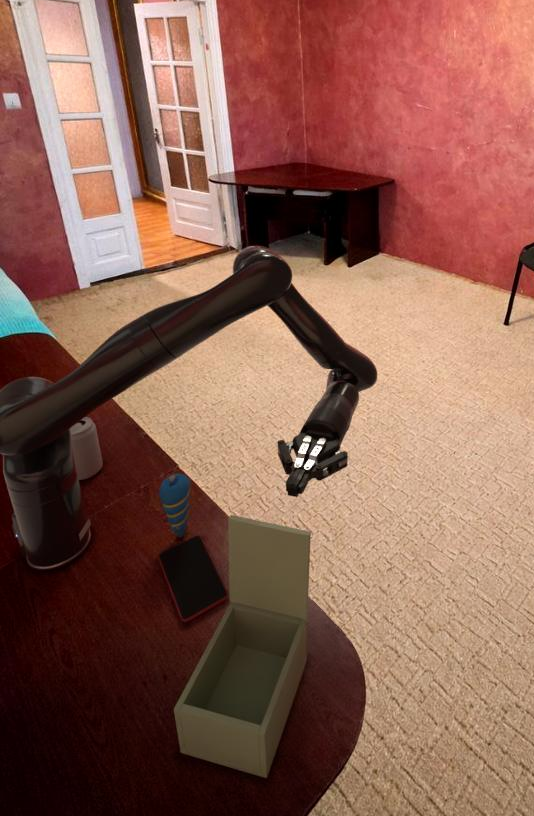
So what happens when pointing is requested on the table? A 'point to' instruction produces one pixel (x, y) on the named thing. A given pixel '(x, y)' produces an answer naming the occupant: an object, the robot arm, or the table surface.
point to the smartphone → (192, 578)
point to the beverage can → (86, 448)
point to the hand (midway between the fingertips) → (292, 492)
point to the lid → (269, 566)
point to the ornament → (176, 501)
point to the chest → (243, 689)
